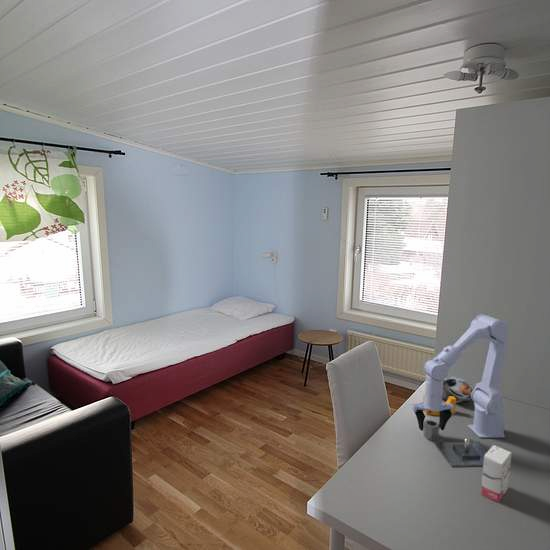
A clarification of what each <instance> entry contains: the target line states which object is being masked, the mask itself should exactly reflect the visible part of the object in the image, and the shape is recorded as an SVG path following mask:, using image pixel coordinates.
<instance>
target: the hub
mask: <svg viewBox="0 0 550 550" xmlns="http://www.w3.org/2000/svg"><path fill="white" fill-rule="evenodd" d="M422 432H423V436H424V437H425V439H427V440H431V441H437V440H438V439H439V437H440V427H439V421H436V420H432V419H425V420H424V427H423V431H422Z"/></svg>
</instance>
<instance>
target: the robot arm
mask: <svg viewBox="0 0 550 550" xmlns="http://www.w3.org/2000/svg"><path fill="white" fill-rule="evenodd" d="M509 332H510V326H509V325H508V324H507V323H506V322H505V321H504V320H501V319H498V318H495V317H492V316H490V315H488V314H486V313H481V314H477V316H476V317H475V318H474V319H473V320H472V321H471V323H470V327H469V328H467V330H466V331H465V332H464V333H463V334H462V335H461V336H460V338H458V339H457V341H456V342H455V343H454V344H453V345H447V346H445V347H444V348H442V351H441V352H439V353H438V355H436V356H435V357H434V358H433V359H429V360H427V361H426V362H425V363H424V366H422V370H423V372H424V373H425V387H424V388H425V389H424V395H425V401H424V402H419V403H413V404H411V410H412V412H414V413H415V417H416V420H417V424H418V429H419V430H420V431H422V432H423V431H424V422H425V420H426V414H425V412H424V411H439V414H440V415H439V421H438V424H439V430H441V431H444V430H445V428H446V425H447V423H448V421H449V420H450V419H451V417H452V416H453V414H452V413H451V412H450V411H454V406H453V405H452V404H447V403H445V402H443V400H442V392H443V379H445V378H446V377H447V378H448V375H449V371H450V370H451V368H452V367H453V366H454V365H455V364H456V363H457V362H458V361H459V360H460V359H462V353H463V352H464V351H465V350H467V348H469V347H470V346H471V345H473V344H474V343H475V342H476V341H477V340H478V339H488V340H489V346H488V347H489V348H488V352H487V356H486V361H485V364H484V369H483V373H482V377H481V381H480V382H478V383H477V382H476V384H475V385H474V390H473V392H472V394H471V398H470V399H471V400H472V401H473V405H474V416H473V423H472V424H468V425H467V426H468V428H469V429H470V430H471V431H473V433H474V434H475V435H476V436H477V437H478V438H480V439H482V438H484V439H486V438H488V439H489V438H505V437H506V436H505V434H504V432H505V431H504V430H505V421H506V420H505V419H506V418H505V415H504V413H503V411H502V410H503V408H504V402H503V397H504V395H503V393H502V391H501V389H500V387H499V385H500V382H501V376H502V373H503V369H504V365H505V360H506V356H507V351H508V348H509V343H510V338H509Z"/></svg>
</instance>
